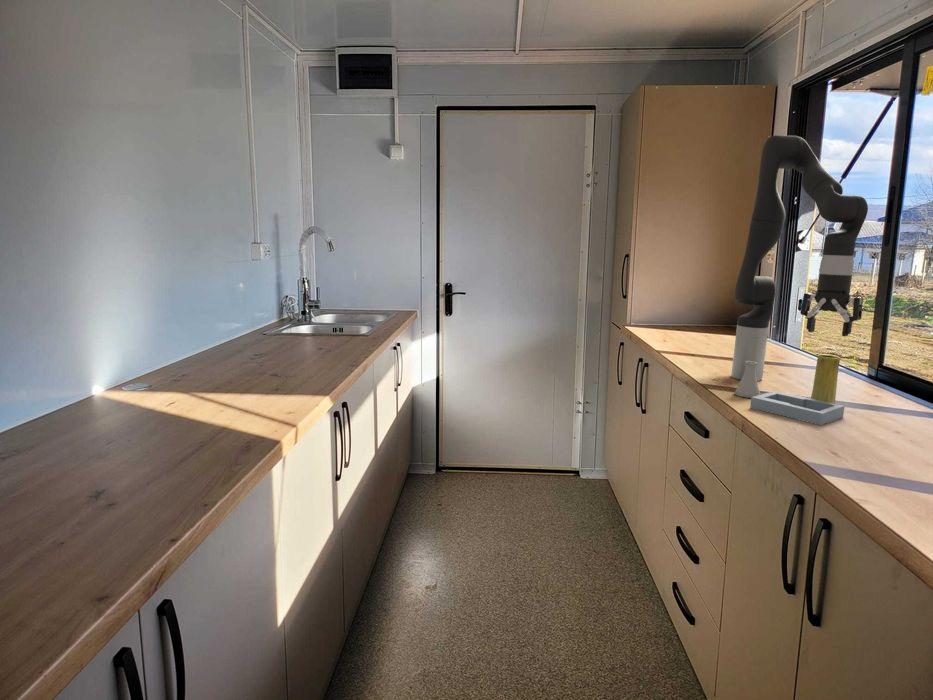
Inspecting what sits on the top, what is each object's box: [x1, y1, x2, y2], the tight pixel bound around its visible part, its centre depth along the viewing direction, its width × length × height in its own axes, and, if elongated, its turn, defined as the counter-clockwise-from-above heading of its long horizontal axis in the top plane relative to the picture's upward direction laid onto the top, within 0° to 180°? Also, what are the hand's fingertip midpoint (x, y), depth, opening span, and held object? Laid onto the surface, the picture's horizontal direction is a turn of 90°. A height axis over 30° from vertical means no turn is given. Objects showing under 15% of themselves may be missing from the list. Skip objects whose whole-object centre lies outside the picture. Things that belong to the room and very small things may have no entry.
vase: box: [810, 354, 841, 404], centre depth 168 cm, size 6×6×14 cm
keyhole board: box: [750, 390, 845, 426], centre depth 163 cm, size 13×18×3 cm
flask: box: [734, 361, 761, 399], centre depth 178 cm, size 7×7×10 cm
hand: (827, 333), depth 165 cm, fingers open, 8 cm apart
